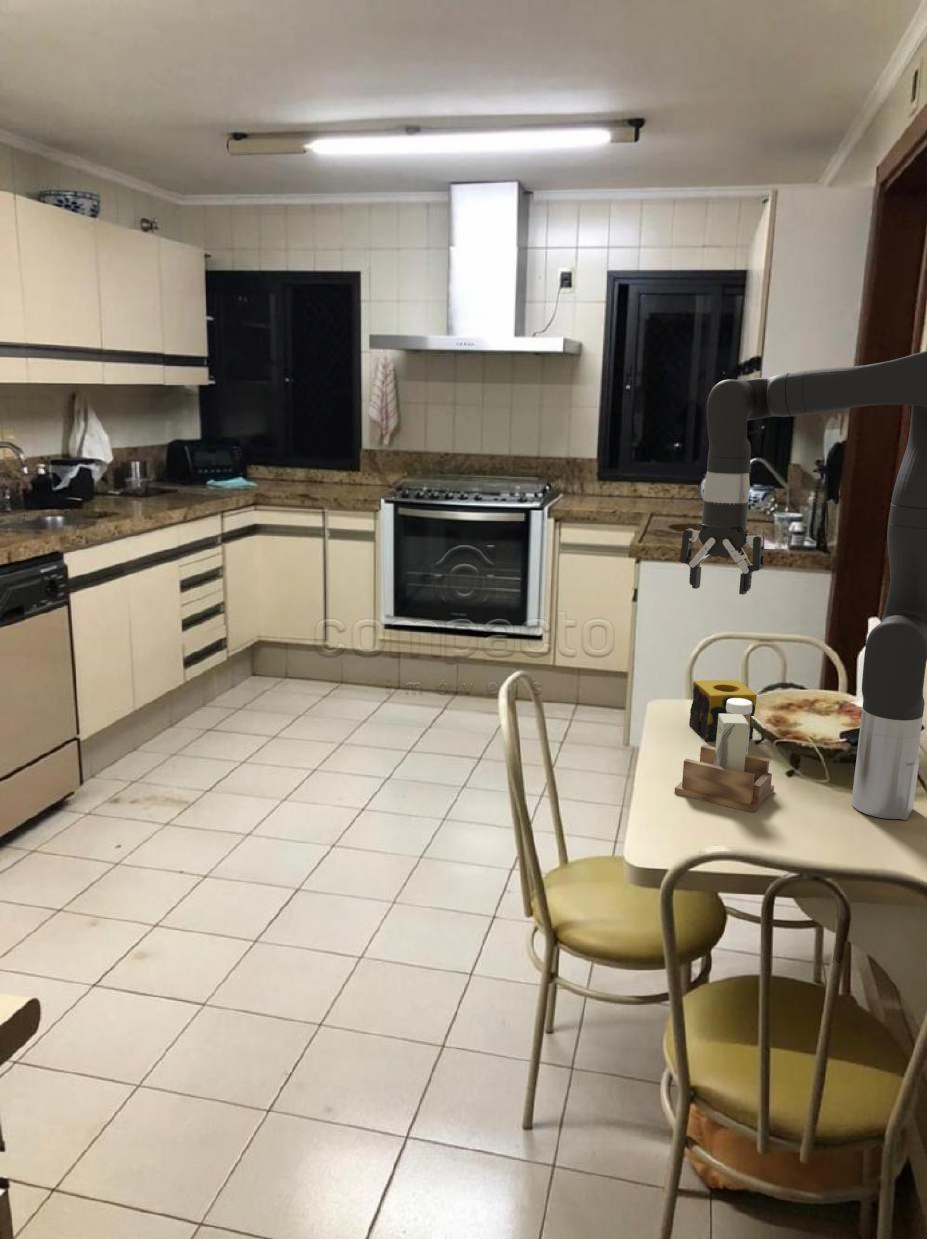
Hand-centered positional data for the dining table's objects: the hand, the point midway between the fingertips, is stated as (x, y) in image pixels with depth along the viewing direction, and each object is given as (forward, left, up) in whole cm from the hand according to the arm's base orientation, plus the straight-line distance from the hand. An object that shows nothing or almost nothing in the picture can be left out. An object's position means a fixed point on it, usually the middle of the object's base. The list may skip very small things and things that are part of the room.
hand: (719, 590), depth 169 cm
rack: (-6, +7, -34) cm, 35 cm away
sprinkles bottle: (-4, -4, -34) cm, 35 cm away
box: (-7, +7, -33) cm, 35 cm away
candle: (+5, -22, -34) cm, 41 cm away
